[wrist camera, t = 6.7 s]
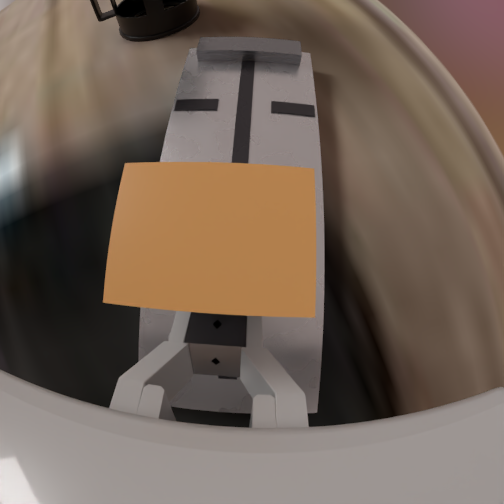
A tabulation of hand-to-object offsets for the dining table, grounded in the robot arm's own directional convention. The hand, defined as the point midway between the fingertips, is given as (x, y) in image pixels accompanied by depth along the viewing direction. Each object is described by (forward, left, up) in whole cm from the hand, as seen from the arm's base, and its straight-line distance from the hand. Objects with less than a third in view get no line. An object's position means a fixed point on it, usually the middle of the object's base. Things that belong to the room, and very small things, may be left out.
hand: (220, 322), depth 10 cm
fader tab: (+1, +1, -4) cm, 5 cm away
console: (+6, +5, -7) cm, 10 cm away
